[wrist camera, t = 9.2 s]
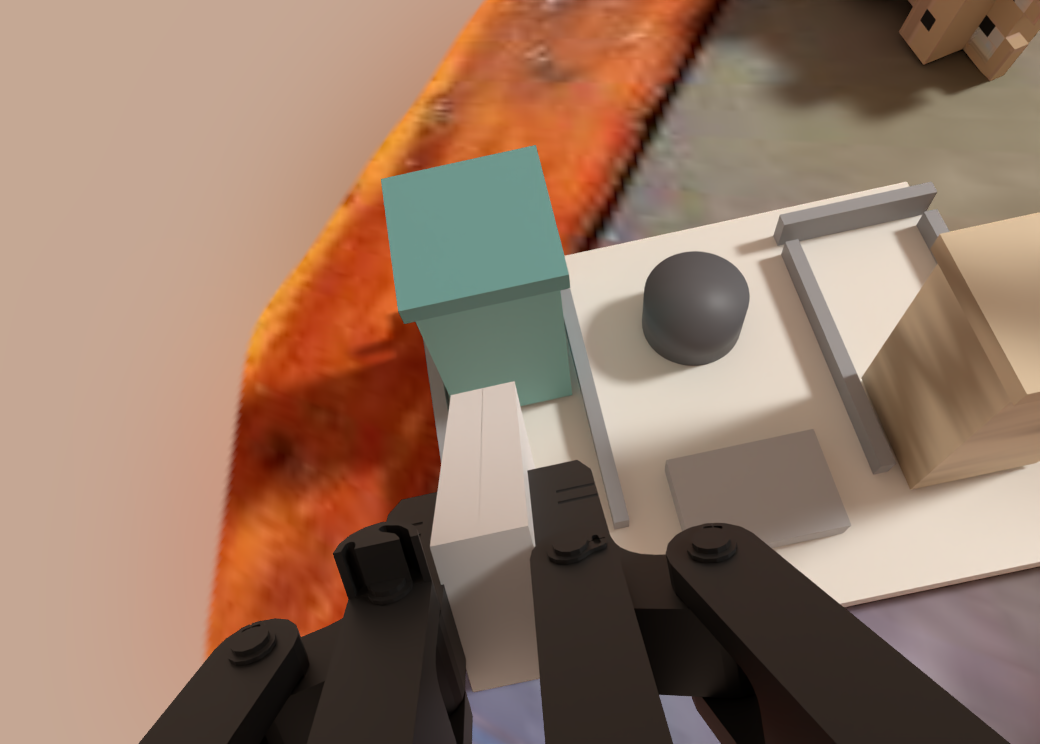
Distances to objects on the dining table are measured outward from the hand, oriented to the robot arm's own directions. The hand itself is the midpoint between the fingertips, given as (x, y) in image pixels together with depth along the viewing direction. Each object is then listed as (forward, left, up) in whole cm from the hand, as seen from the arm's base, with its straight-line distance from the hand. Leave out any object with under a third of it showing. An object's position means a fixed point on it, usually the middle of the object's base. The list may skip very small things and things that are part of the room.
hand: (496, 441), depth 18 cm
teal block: (-8, -5, -14) cm, 17 cm away
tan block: (-12, +13, -14) cm, 22 cm away
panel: (-9, +4, -16) cm, 19 cm away
